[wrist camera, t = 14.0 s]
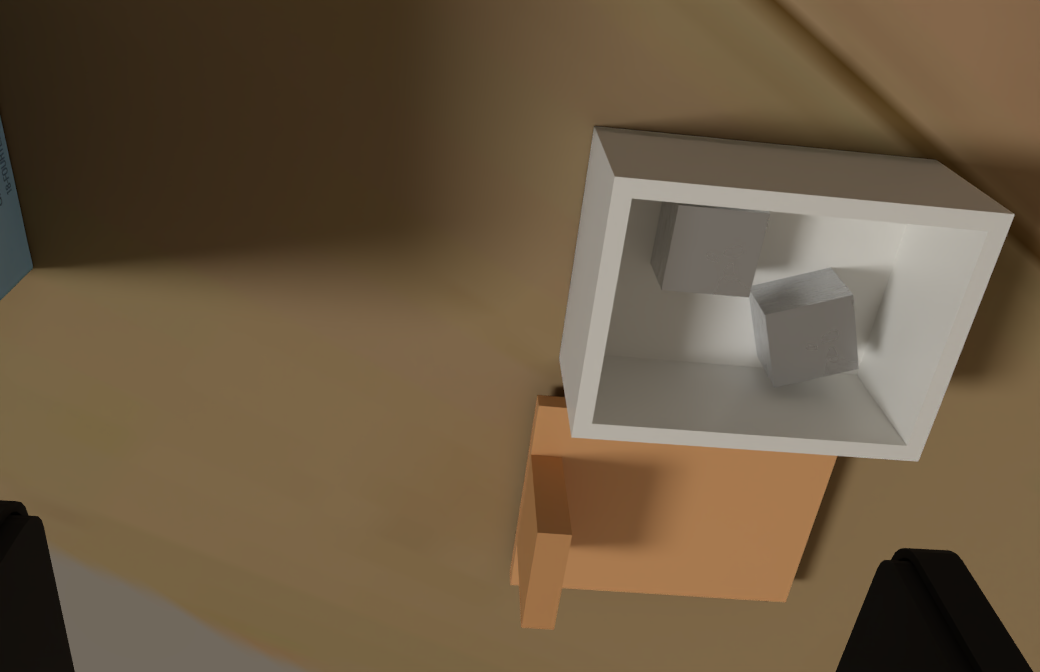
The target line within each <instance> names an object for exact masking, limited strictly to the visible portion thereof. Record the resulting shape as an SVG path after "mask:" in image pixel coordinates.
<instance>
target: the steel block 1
mask: <svg viewBox="0 0 1040 672" xmlns="http://www.w3.org/2000/svg"><path fill="white" fill-rule="evenodd" d="M769 217H770V212H769V211H762V210H751V209H740V208H729V207H718V206H707V205H697V204H686V203H675V202H664V201H662V205H661V210H660V215H659V220H658V225H657V230H656V236H655V241H654V246H653V251H652V256H651V261H650V263H651V266H652V268H653V271H654V273H655V276H656V278H657V281H658V283H659V285H660V288H661V290H665V291H677V292H689V293H701V294H713V295H725V296H737V297H749V295H750V291H751V288H752V284H753V280H754V276H755V272H756V268H757V264H758V260H759V256H760V252H761V248H762V244H763V241H764V237H765V233H766V229H767V225H768V221H769Z"/></svg>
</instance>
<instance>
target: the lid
mask: <svg viewBox="0 0 1040 672" xmlns="http://www.w3.org/2000/svg"><path fill="white" fill-rule="evenodd" d="M836 459H837V456H833V455H818V454H804V453H789V452H775V451H760V450H746V449H731V448H716V447H702V446H687V445H673V444H658V443H644V442H629V441H615V440H600V439H586V438H571V431H570V425H569V418H568V412H567V405H566V399H565V397H556V396H544V395H537V402H536V408H535V415H534V421H533V427H532V434H531V440H530V447H529V453H528V459H527V466H526V472H525V479H524V485H523V492H522V498H521V504H520V511H519V517H518V524H517V530H516V537H515V543H514V549H513V556H512V562H511V569H510V585H519V592H520V611H521V628H536V629H553V630H554V626H555V621H556V616H557V611H558V606H559V601H560V595H561V590H562V588H569V589H585V590H601V591H617V592H632V593H648V594H664V595H680V596H695V597H711V598H727V599H743V600H758V601H774V602H786V600H787V597H788V594H789V591H790V588H791V586H792V583H793V580H794V577H795V574H796V571H797V569H798V566H799V563H800V560H801V557H802V554H803V552H804V549H805V546H806V543H807V540H808V538H809V535H810V532H811V529H812V526H813V523H814V521H815V518H816V515H817V512H818V509H819V507H820V504H821V501H822V498H823V495H824V492H825V490H826V487H827V484H828V481H829V478H830V476H831V473H832V470H833V467H834V464H835V461H836Z"/></svg>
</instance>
